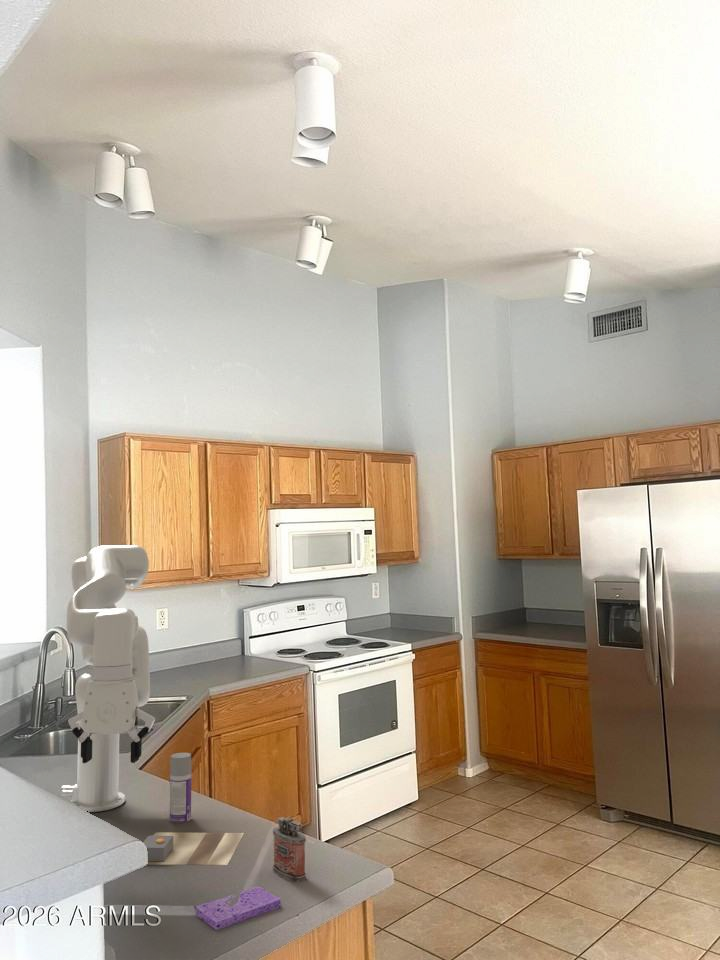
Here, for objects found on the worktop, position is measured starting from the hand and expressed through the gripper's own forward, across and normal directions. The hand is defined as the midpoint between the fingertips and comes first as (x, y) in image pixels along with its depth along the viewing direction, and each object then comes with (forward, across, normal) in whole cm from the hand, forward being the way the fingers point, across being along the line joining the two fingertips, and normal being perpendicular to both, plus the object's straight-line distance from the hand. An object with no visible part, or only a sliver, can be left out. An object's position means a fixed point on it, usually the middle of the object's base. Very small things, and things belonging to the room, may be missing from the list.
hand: (111, 761), depth 150 cm
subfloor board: (+19, +15, +4) cm, 25 cm away
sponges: (+20, +30, -19) cm, 41 cm away
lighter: (+20, +36, -5) cm, 42 cm away
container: (+19, +8, +20) cm, 29 cm away
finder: (+18, +9, 0) cm, 20 cm away
